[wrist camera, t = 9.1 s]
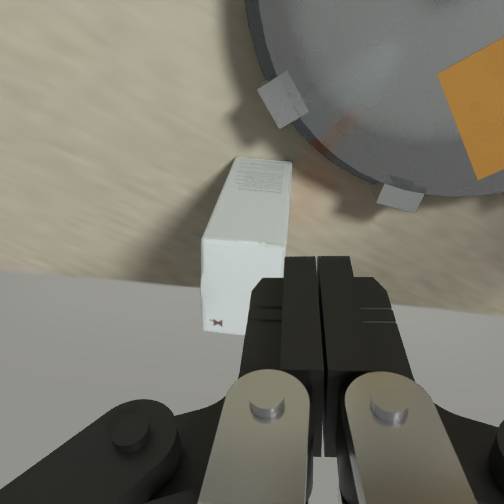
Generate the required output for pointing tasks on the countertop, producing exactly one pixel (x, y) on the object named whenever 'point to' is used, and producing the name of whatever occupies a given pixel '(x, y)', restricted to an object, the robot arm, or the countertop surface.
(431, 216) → the countertop surface
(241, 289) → the skincare box
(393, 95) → the sprocket
